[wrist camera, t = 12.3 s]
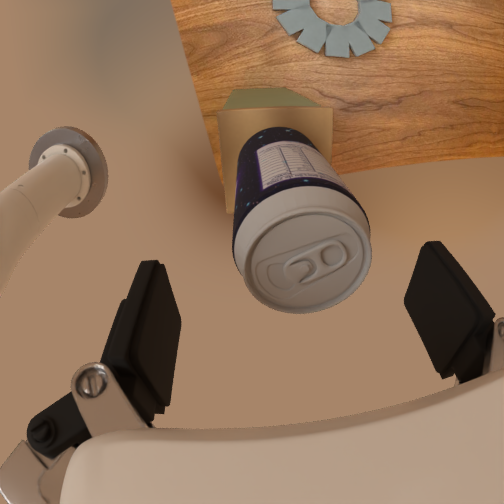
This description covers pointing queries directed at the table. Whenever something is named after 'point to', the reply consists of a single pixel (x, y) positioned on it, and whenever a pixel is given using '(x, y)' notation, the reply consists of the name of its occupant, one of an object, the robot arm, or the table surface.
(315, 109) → the stand
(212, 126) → the table surface
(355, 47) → the trivet
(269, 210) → the beverage can
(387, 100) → the table surface
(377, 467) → the robot arm
